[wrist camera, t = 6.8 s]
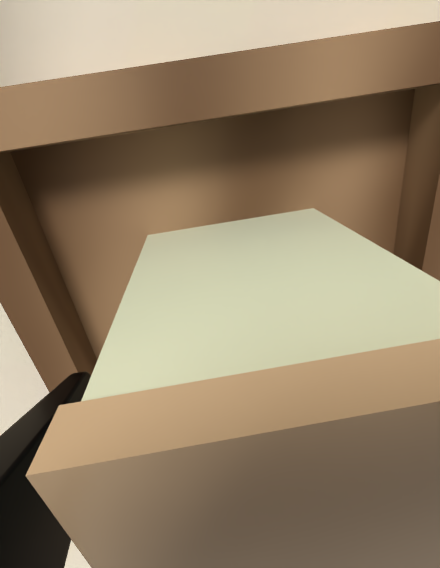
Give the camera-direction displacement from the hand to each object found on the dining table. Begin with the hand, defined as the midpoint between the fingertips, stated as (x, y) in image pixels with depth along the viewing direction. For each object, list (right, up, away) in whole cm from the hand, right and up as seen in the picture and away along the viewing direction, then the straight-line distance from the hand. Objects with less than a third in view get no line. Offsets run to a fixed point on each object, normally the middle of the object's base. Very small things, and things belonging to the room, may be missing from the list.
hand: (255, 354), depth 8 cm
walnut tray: (0, +2, +3) cm, 4 cm away
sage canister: (0, +2, +3) cm, 3 cm away
